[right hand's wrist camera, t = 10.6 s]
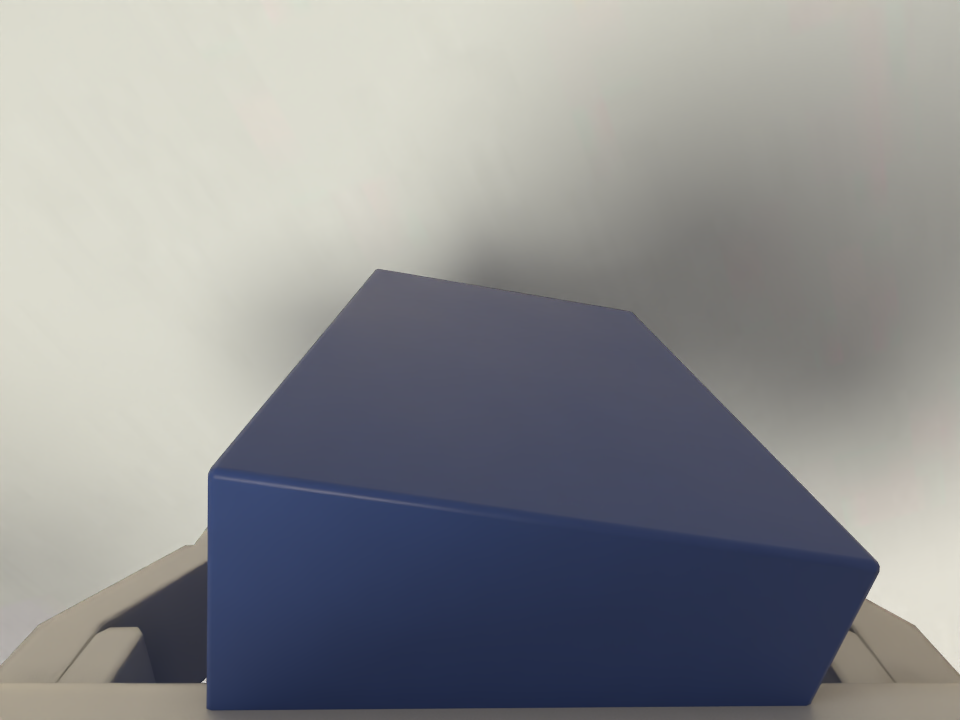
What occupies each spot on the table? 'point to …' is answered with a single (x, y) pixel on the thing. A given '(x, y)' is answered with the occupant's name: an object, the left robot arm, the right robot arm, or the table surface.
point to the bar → (512, 523)
